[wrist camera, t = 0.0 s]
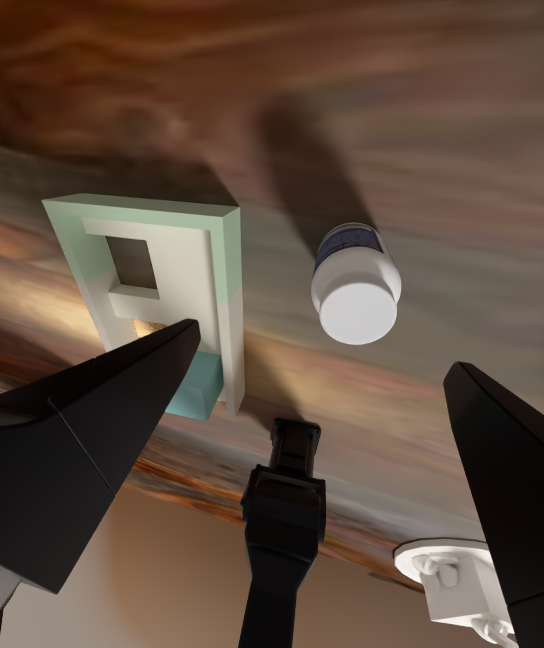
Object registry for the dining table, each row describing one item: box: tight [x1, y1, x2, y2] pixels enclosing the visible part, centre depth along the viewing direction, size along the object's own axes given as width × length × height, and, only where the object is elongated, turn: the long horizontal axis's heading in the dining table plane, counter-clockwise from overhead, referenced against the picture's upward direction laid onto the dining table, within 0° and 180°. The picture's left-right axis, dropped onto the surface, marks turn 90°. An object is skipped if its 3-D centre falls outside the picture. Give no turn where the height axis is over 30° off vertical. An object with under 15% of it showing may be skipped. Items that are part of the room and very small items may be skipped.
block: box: [165, 351, 224, 421], centre depth 28 cm, size 5×5×5 cm
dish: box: [394, 539, 519, 648], centre depth 45 cm, size 25×25×11 cm
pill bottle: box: [311, 222, 401, 345], centre depth 18 cm, size 5×5×10 cm
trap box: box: [42, 193, 245, 418], centre depth 27 cm, size 23×15×4 cm, turn 178°
